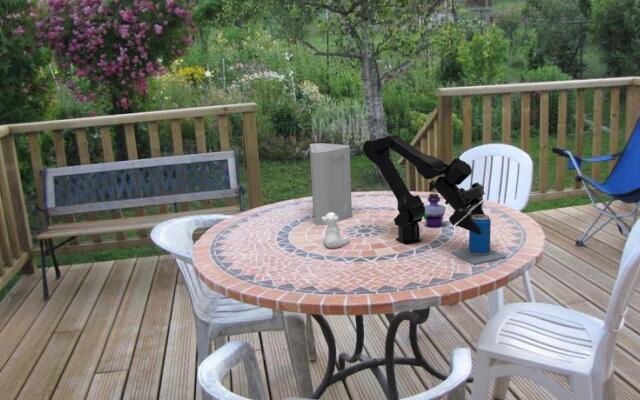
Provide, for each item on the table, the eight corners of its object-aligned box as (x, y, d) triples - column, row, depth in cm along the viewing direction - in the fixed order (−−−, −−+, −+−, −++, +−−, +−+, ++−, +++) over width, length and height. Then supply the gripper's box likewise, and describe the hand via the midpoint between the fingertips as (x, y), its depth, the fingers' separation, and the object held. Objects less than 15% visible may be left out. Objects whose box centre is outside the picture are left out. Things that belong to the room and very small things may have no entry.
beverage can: (486, 248, 206) (487, 213, 203) (492, 255, 200) (493, 219, 197) (466, 250, 206) (467, 214, 203) (472, 256, 200) (472, 220, 196)
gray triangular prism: (354, 223, 242) (352, 150, 235) (315, 225, 241) (312, 152, 234) (349, 209, 260) (346, 141, 253) (313, 211, 260) (309, 143, 253)
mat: (474, 265, 194) (474, 263, 194) (451, 253, 205) (451, 251, 205) (505, 258, 199) (506, 256, 199) (481, 247, 210) (481, 245, 209)
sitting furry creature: (350, 242, 221) (349, 208, 218) (344, 250, 213) (343, 216, 210) (324, 240, 223) (322, 208, 220) (317, 249, 215) (315, 215, 212)
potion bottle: (417, 225, 235) (416, 194, 232) (432, 220, 240) (432, 189, 237) (435, 230, 229) (435, 198, 226) (450, 225, 234) (450, 193, 231)
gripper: (459, 183, 190) (495, 222, 188) (477, 170, 206) (510, 206, 204) (434, 206, 196) (469, 244, 194) (453, 191, 212) (485, 227, 209)
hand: (484, 229), depth 200 cm, fingers open, 9 cm apart
